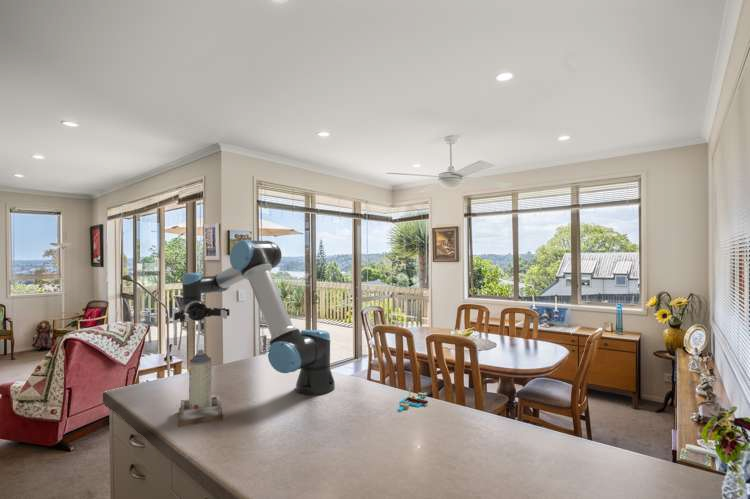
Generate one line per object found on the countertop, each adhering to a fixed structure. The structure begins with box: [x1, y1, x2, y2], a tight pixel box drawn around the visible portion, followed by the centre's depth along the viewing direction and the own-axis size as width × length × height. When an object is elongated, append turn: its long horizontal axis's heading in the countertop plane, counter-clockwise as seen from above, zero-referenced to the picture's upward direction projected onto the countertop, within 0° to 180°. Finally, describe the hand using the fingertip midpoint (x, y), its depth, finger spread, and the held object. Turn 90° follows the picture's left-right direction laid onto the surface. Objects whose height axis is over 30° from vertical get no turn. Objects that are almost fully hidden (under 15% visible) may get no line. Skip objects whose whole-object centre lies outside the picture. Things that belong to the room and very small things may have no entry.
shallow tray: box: [177, 394, 224, 427], centre depth 133 cm, size 13×13×4 cm
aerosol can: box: [188, 349, 213, 410], centre depth 133 cm, size 7×7×20 cm
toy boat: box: [396, 387, 429, 412], centre depth 144 cm, size 20×5×9 cm
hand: (207, 316), depth 152 cm, fingers open, 13 cm apart
